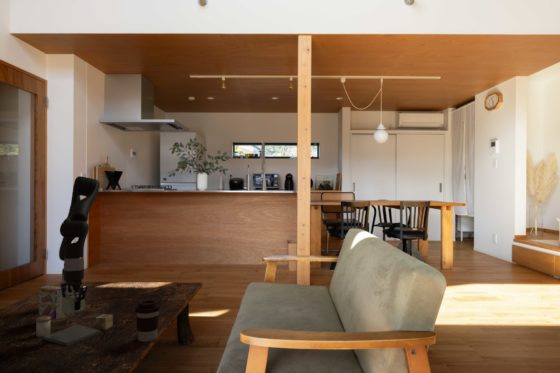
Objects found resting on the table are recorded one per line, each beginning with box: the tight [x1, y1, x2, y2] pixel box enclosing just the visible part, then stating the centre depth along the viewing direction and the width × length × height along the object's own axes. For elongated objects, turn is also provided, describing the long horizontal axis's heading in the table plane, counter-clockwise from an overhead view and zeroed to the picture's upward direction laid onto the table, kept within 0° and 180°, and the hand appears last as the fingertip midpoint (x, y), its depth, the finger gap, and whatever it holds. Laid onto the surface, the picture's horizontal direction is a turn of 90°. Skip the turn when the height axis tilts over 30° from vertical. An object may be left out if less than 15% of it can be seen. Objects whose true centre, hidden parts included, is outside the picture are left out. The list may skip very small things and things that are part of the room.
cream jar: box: [35, 316, 51, 338], centre depth 156 cm, size 5×5×7 cm
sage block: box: [62, 295, 86, 315], centre depth 154 cm, size 4×7×6 cm, turn 155°
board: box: [42, 324, 102, 347], centre depth 154 cm, size 15×15×1 cm
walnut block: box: [50, 317, 68, 333], centre depth 162 cm, size 4×6×4 cm, turn 135°
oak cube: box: [94, 313, 114, 331], centre depth 164 cm, size 5×5×5 cm
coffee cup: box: [134, 299, 162, 343], centre depth 152 cm, size 10×10×15 cm
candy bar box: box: [38, 285, 66, 320], centre depth 169 cm, size 11×5×16 cm, turn 71°
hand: (73, 308), depth 154 cm, fingers closed on sage block, 4 cm apart
